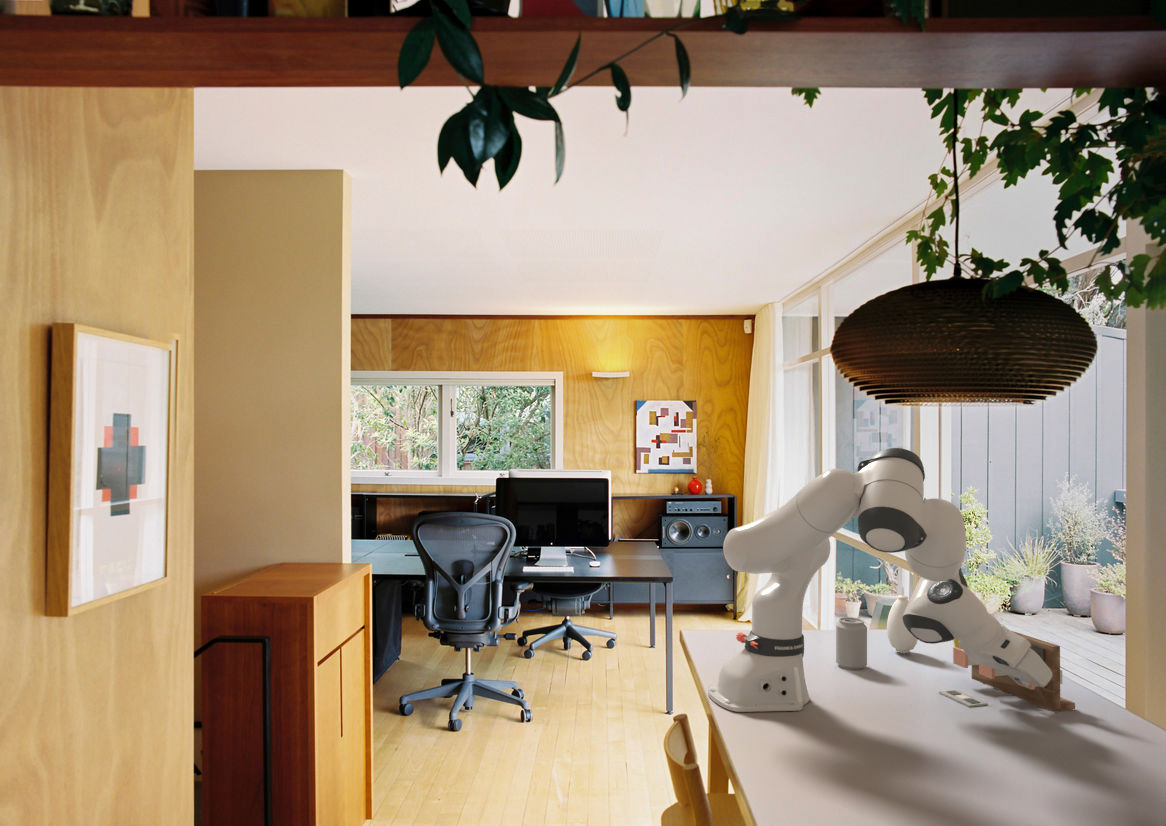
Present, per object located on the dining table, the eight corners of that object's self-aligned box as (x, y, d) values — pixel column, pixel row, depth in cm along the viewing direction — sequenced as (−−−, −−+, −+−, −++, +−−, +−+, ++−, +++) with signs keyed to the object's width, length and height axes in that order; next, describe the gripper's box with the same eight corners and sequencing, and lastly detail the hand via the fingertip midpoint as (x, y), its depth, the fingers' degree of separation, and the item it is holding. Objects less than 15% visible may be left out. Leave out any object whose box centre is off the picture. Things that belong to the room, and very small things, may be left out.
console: (1051, 712, 164) (1051, 646, 164) (970, 678, 186) (970, 620, 186) (1075, 709, 165) (1074, 644, 166) (991, 676, 187) (991, 619, 188)
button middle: (991, 679, 171) (991, 662, 171) (978, 673, 175) (978, 657, 175) (1023, 675, 174) (1023, 659, 174) (1010, 670, 177) (1010, 654, 177)
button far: (965, 668, 179) (965, 651, 179) (953, 663, 183) (953, 647, 183) (995, 665, 181) (995, 649, 181) (983, 660, 185) (983, 644, 185)
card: (968, 707, 166) (968, 704, 166) (939, 693, 175) (939, 690, 175) (987, 705, 168) (987, 702, 168) (957, 691, 176) (957, 689, 176)
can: (862, 662, 198) (862, 616, 198) (870, 671, 191) (870, 623, 191) (833, 661, 199) (833, 615, 199) (839, 670, 191) (839, 622, 192)
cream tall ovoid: (881, 649, 210) (881, 584, 210) (905, 647, 212) (905, 582, 212) (899, 657, 202) (899, 589, 203) (924, 656, 204) (924, 588, 205)
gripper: (943, 638, 173) (979, 678, 175) (1016, 665, 153) (1055, 710, 155) (959, 617, 174) (995, 657, 176) (1034, 641, 154) (1073, 686, 156)
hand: (1024, 682), depth 165 cm, fingers closed
